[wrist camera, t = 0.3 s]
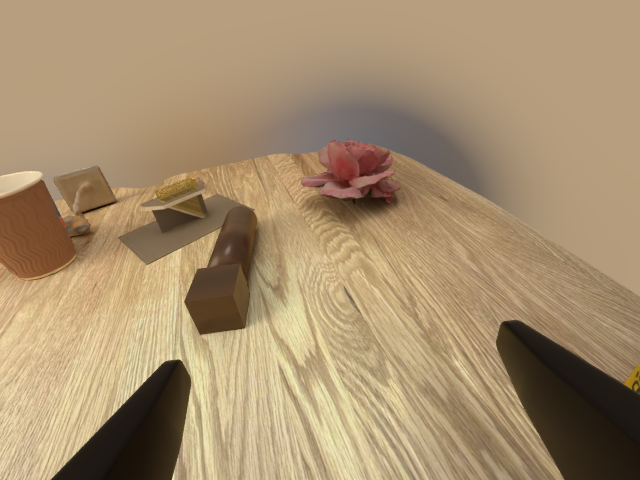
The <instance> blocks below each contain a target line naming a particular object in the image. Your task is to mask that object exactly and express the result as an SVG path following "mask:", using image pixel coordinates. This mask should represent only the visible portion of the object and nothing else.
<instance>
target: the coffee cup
mask: <svg viewBox="0 0 640 480" xmlns="http://www.w3.org/2000/svg"><path fill="white" fill-rule="evenodd" d="M42 178H43V174H42V173H41V172H37V171H29V172H19V173H13V174H8V175H4V176H0V262H1V263H2V264H3V265H4V266H5V267H6V268H7V269H8V270H9V271H11V272H12V273H13V274H16V275H17V276H18V277H19V278H20V279H23V280H34V279H39V278H43V277H46V276H48V275H51V274H53V273H55V272H57V271H60V270H61V269H63V268H65V267H66V266H67V265H69V264H70V263H71V262H72V261H73V260H74V259H75V257H76V251H75V249H74V244H73V242H72V240H71V238H70V236H69V234H68V229H67V227H66V225H65V223H64V221H63V219H62V217H61V215H60V213H59V211H58V209H57V207H56V205H55V203H54V201H53V199H52V198H51V195H50V193H49V191H48V189H47V187H46V185H45V183H44V181H43V180H41V179H42Z"/></svg>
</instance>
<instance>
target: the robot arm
mask: <svg viewBox="0 0 640 480" xmlns="http://www.w3.org/2000/svg"><path fill="white" fill-rule="evenodd" d="M496 346H497V350H498V352H499V354H500V356H501V359H502V361H503V363H504V365H505V368H506V370H507V372H508V375H509V377H510V379H511V381H512V384H513V386H514V388H515V390H516V393H517V395H518V397H519V399H520V401H521V403H522V405H523V407H524V409H525V411H526V413H527V414H528V416H529V418H530V420H531V421H532V423H533V425H534V427H535V428H536V430H537V432H538V434H539V436H540V437H541V439H542V441H543V443H544V444H545V446H546V448H547V450H548V451H549V453H550V455H551V457H552V458H553V460H554V462H555V464H556V465H557V467H558V469H559V471H560V473H561V474H562V476H563V478H564V480H640V394H639V393H637V392H635V391H634V390H632V389H630V388H629V387H627V386H626V385H624V384H622V383H621V382H619V381H617V380H616V379H614V378H613V377H611V376H609V375H608V374H606V373H604V372H603V371H601V370H599V369H598V368H596V367H595V366H593V365H591V364H590V363H588V362H586V361H585V360H583V359H581V358H580V357H578V356H577V355H575V354H573V353H572V352H570V351H568V350H567V349H565V348H564V347H562V346H560V345H559V344H557V343H555V342H554V341H552V340H550V339H549V338H547V337H546V336H544V335H542V334H541V333H539V332H537V331H536V330H534V329H532V328H531V327H529V326H528V325H526V324H524V323H523V322H521V321H518V320H510V321H504V322H502V323H501V325H500V329H499V332H498V336H497V340H496ZM190 388H191V378H190V375H189V374H188V372H187V370H186V368H185V366H184V364H183V362H182V361H181V360H170V361H166V362H164V363H163V364H162V365H161V366H160V367H159V368H158V369H157V370H156V371H155V372H154V373H153V374H152V375H151V376H150V377H149V378H148V379H147V380H146V381H145V382H144V383H143V384H142V385H141V386H140V388H139V389H138V390H137V391H136V392H135V393H134V394H133V395H132V396H131V397H130V398H129V399H128V400H127V401H126V402H125V403H124V404H123V405H122V406H121V407H120V408H119V409H118V410H117V411H116V412H115V414H114V415H113V416H112V417H111V418H110V419H109V420H108V421H107V422H106V423H105V424H104V425H103V426H102V427H101V428H100V429H99V430H98V431H97V432H96V433H95V434H94V435H93V436H92V437H91V438H90V440H89V441H88V442H87V443H86V444H85V445H84V446H83V447H82V448H81V449H80V450H79V451H78V452H77V453H76V454H75V455H74V456H73V457H72V458H71V459H70V460H69V461H68V462H67V463H66V464H65V466H64V467H63V468H62V469H61V470H60V471H59V472H58V473H57V474H56V475H55V476H54V477H53V478H52V479H51V480H172V477H173V473H174V469H175V465H176V462H177V458H178V454H179V450H180V446H181V442H182V437H183V431H184V425H185V419H186V413H187V407H188V401H189V394H190Z"/></svg>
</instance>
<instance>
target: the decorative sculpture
mask: <svg viewBox="0 0 640 480" xmlns="http://www.w3.org/2000/svg"><path fill="white" fill-rule="evenodd" d="M53 181H54V183H55V184H56V186H57V188H58V189H59V191H60V193H61V194H62V196H63V198H64V199H65V201H66V202H67V204H68V206H69V207H70V209H71V210H72V212H73V213H74V214H79V215H80V217H78V216H68V217H65V218H62V219H63V221H64V223H65V225H66V227H67V229H68V234H69V236H70V237H72V236H76V235H81V234H83V233H85V232H86V231H88V230H89V229H90V224H88V220H87V219H85V217H84V215H83V214H82V213H81V212H84V211H87V210H90V209H94V208H97V207H100V206H103V205H106V204H109V203H112V202H115V201H116V198H115V196H114V194H113V192H112V190H111V189H110V187H109V185H108V183H107V181H106V179H105V177H104V176H103V174H102V172H101V170H100V168H99V167H98V166H97V165H96V166H92V167H87V168H84V169H80V170H77V171H73V172H69V173H66V174H62V175H59V176H56V177H54V178H53Z"/></svg>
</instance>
